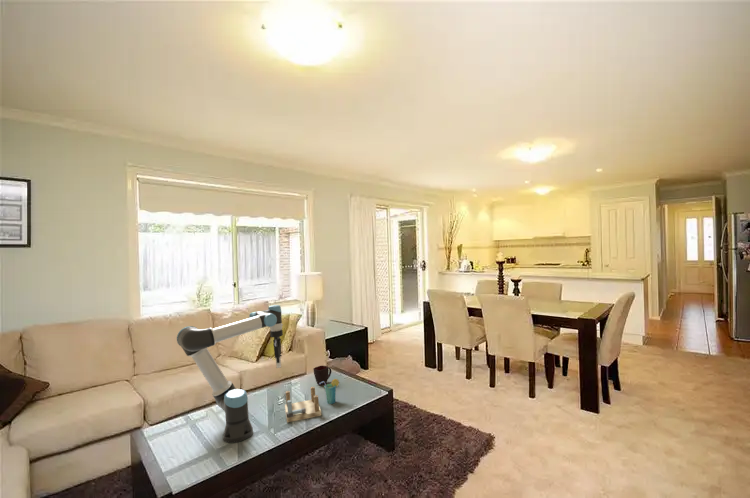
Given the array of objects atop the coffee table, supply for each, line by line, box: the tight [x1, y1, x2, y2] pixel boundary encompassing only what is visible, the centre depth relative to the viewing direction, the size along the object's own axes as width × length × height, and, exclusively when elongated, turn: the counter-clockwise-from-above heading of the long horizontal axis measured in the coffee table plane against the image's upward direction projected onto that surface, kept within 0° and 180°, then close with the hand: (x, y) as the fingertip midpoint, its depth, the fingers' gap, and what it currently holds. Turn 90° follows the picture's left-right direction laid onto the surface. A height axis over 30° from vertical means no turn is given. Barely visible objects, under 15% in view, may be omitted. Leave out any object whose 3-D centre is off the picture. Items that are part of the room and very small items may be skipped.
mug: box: [312, 365, 332, 386], centre depth 267 cm, size 10×14×12 cm
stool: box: [284, 386, 322, 423], centre depth 220 cm, size 20×20×11 cm
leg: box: [287, 399, 306, 414], centre depth 211 cm, size 10×2×8 cm, turn 106°
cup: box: [319, 378, 340, 405], centre depth 231 cm, size 14×8×15 cm, turn 128°
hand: (278, 367), depth 226 cm, fingers closed
